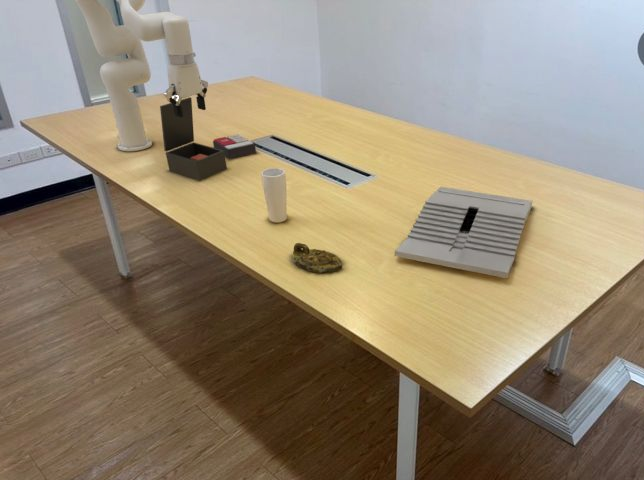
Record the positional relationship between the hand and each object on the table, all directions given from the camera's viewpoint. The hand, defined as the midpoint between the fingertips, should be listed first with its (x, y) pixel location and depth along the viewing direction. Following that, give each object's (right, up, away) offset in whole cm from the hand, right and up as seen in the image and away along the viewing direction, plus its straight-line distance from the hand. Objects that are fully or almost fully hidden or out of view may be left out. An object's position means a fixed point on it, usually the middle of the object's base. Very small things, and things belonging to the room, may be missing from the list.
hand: (190, 112), depth 184 cm
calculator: (+8, -6, +28) cm, 30 cm away
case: (-1, -17, +12) cm, 21 cm away
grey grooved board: (+88, -42, -26) cm, 101 cm away
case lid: (-6, -2, +6) cm, 9 cm away
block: (0, -17, +11) cm, 20 cm away
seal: (+46, -51, -40) cm, 80 cm away
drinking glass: (+33, -38, -19) cm, 53 cm away
